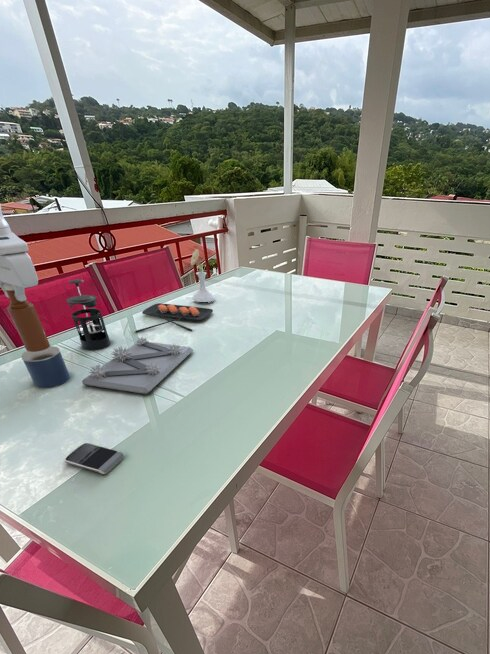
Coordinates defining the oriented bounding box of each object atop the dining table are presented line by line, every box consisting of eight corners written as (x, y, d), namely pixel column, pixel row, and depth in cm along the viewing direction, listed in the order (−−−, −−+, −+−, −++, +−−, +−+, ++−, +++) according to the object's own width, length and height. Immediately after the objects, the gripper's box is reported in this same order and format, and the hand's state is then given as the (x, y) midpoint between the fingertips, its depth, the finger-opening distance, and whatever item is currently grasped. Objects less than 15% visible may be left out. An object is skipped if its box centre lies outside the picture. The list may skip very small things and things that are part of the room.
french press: (105, 351, 117) (84, 284, 104) (76, 351, 115) (52, 284, 102) (115, 337, 126) (98, 275, 113) (89, 337, 125) (68, 275, 112)
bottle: (21, 348, 93) (-9, 284, 83) (42, 341, 97) (16, 279, 87) (34, 353, 91) (4, 288, 81) (54, 346, 95) (28, 283, 85)
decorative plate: (148, 397, 94) (143, 375, 90) (81, 387, 97) (72, 366, 93) (194, 352, 119) (192, 333, 115) (140, 345, 122) (135, 327, 118)
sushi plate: (215, 313, 153) (214, 304, 151) (186, 338, 128) (184, 329, 126) (157, 306, 156) (155, 298, 154) (117, 330, 132) (115, 321, 129)
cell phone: (86, 446, 77) (84, 441, 76) (126, 457, 74) (124, 452, 74) (63, 464, 72) (61, 459, 71) (105, 476, 70) (103, 472, 69)
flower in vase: (194, 297, 170) (187, 245, 156) (217, 298, 171) (212, 245, 157) (190, 306, 159) (182, 250, 145) (214, 306, 160) (209, 251, 146)
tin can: (27, 382, 98) (13, 355, 93) (58, 369, 105) (47, 343, 100) (46, 391, 95) (33, 363, 89) (77, 377, 101) (66, 350, 96)
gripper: (-48, 237, 79) (-20, 294, 87) (0, 248, 72) (27, 309, 80) (-17, 234, 84) (7, 289, 92) (31, 244, 77) (53, 302, 85)
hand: (17, 298), depth 86 cm, fingers closed on bottle, 3 cm apart
